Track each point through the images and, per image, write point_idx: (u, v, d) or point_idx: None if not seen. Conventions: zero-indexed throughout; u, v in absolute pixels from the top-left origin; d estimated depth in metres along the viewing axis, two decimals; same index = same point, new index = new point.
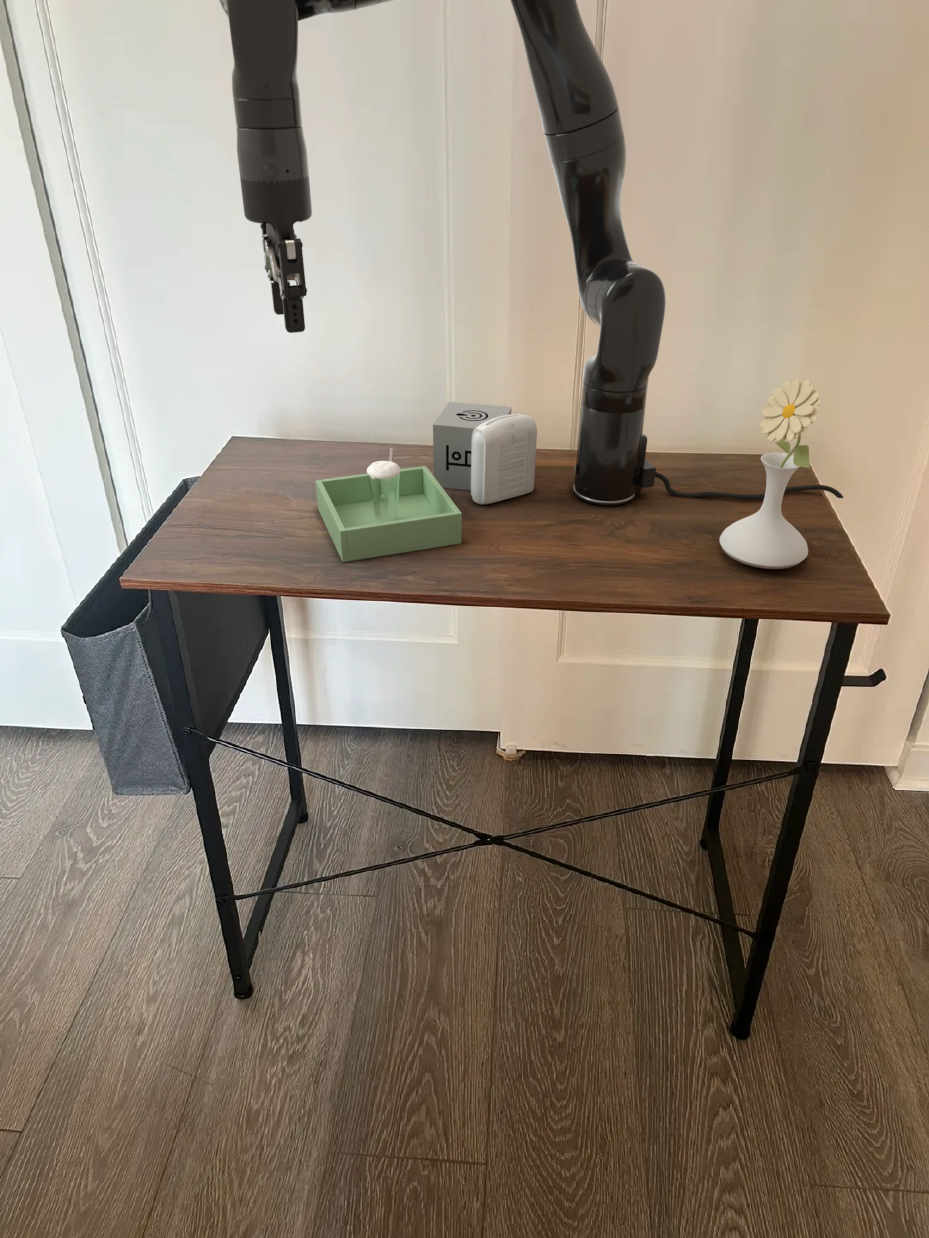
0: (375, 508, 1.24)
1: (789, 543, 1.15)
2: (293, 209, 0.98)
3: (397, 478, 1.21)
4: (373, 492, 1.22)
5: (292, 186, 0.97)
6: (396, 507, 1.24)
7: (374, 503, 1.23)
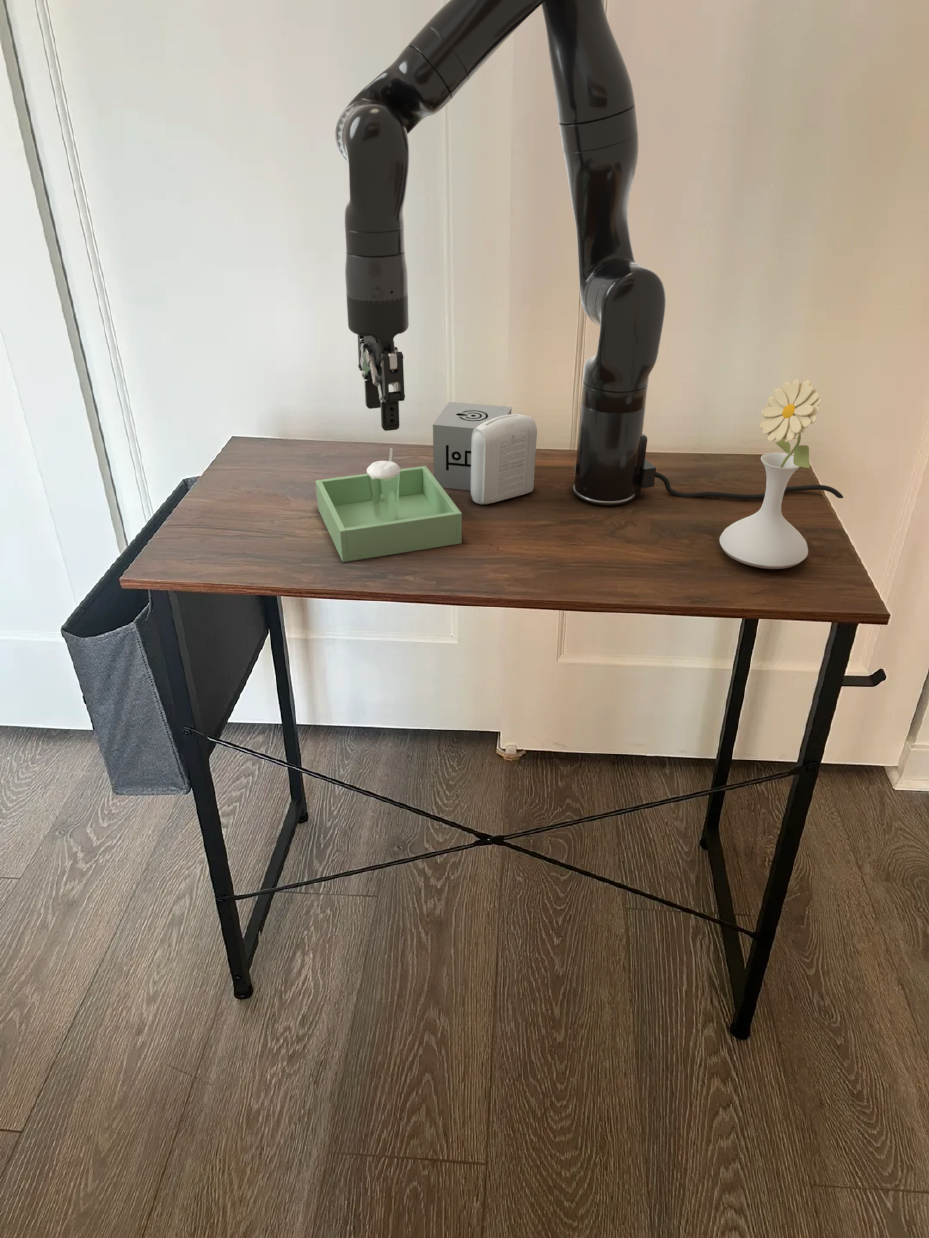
0: (375, 508, 1.24)
1: (789, 543, 1.15)
2: (394, 324, 1.09)
3: (397, 478, 1.21)
4: (373, 492, 1.22)
5: (395, 305, 1.07)
6: (396, 507, 1.24)
7: (374, 503, 1.23)
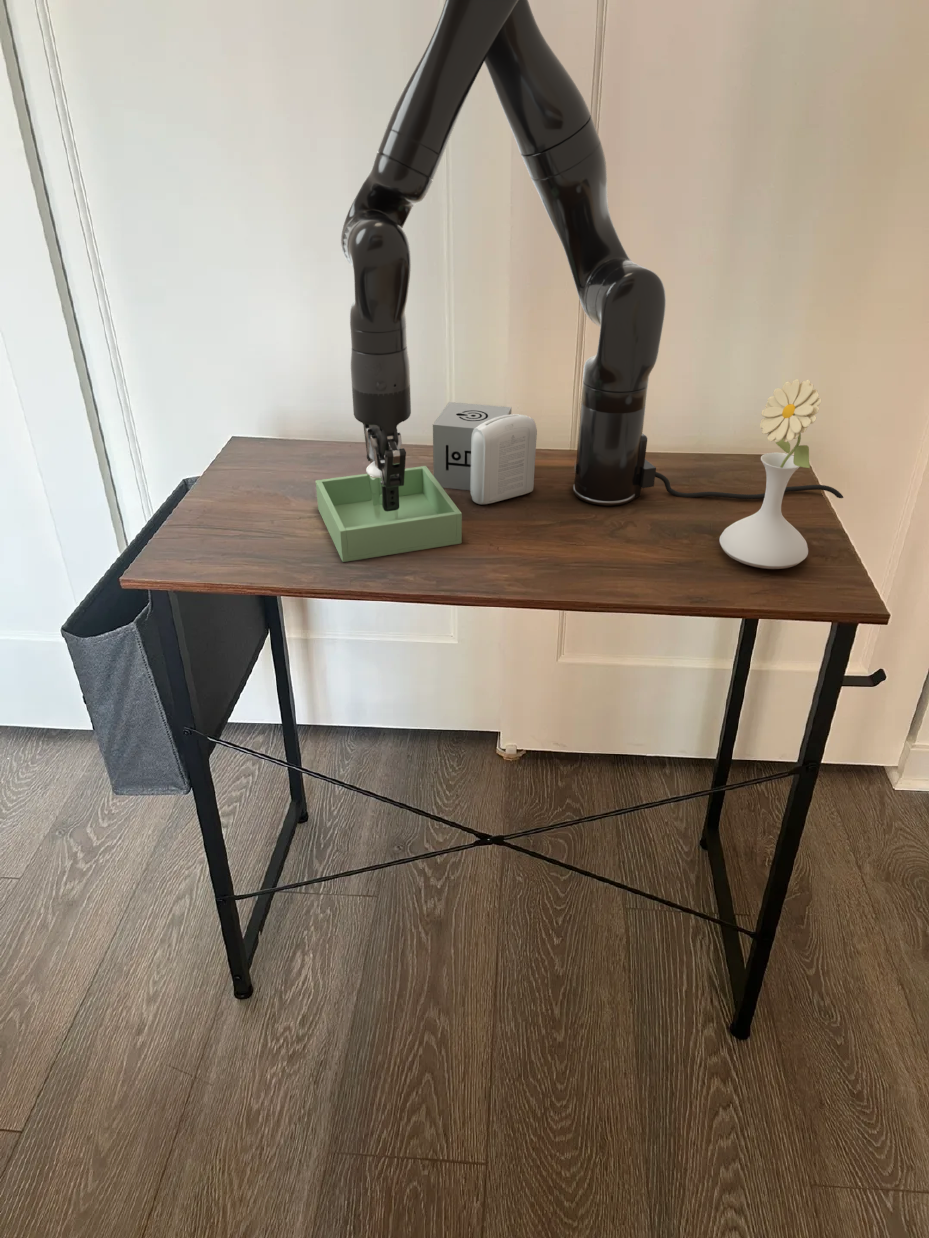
0: (375, 507, 1.24)
1: (789, 543, 1.15)
2: (397, 414, 1.15)
3: None
4: (373, 491, 1.22)
5: (398, 396, 1.13)
6: None
7: (374, 502, 1.23)
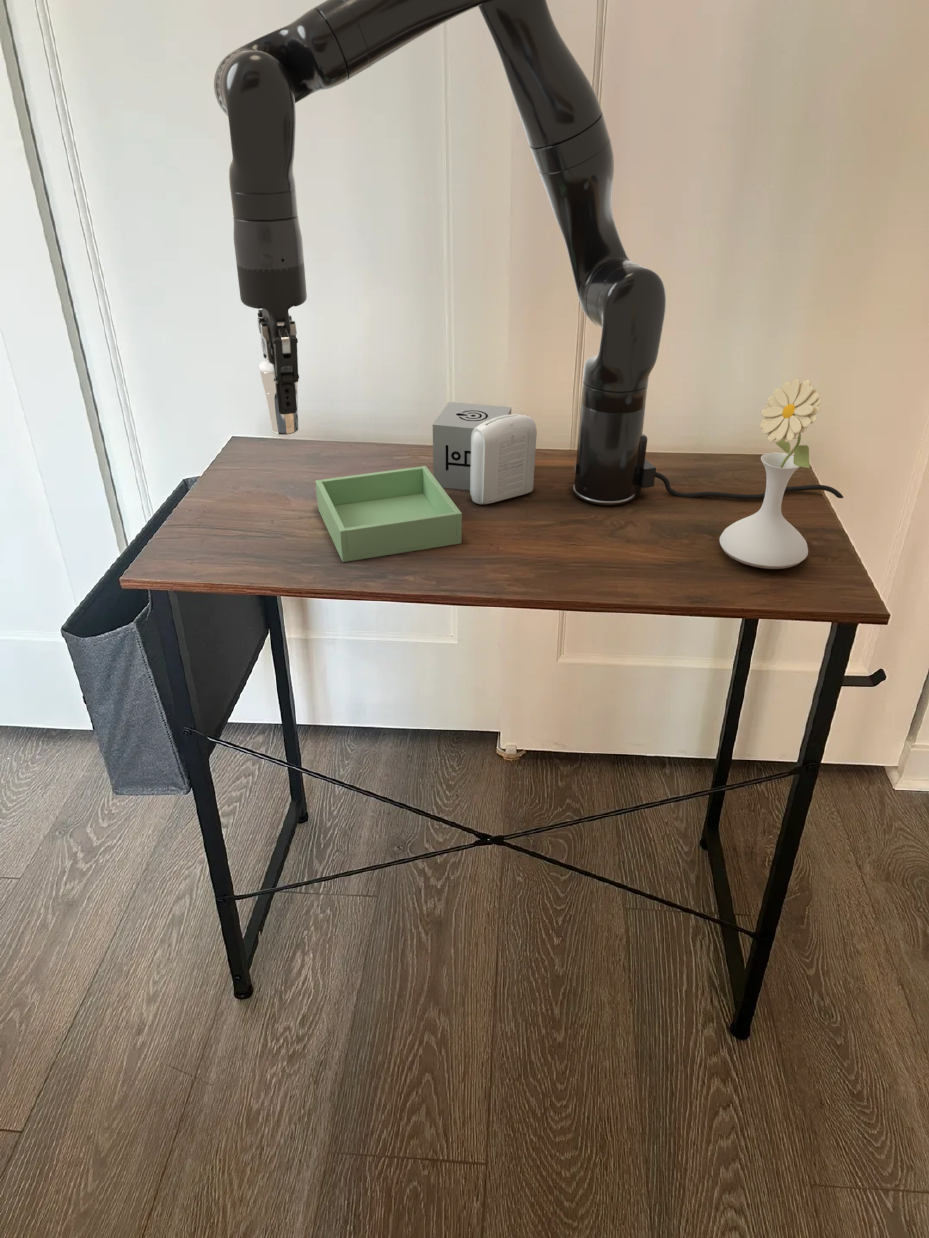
0: (270, 411, 1.09)
1: (789, 543, 1.15)
2: (288, 295, 1.00)
3: None
4: (267, 391, 1.08)
5: (287, 274, 0.99)
6: None
7: (269, 405, 1.09)
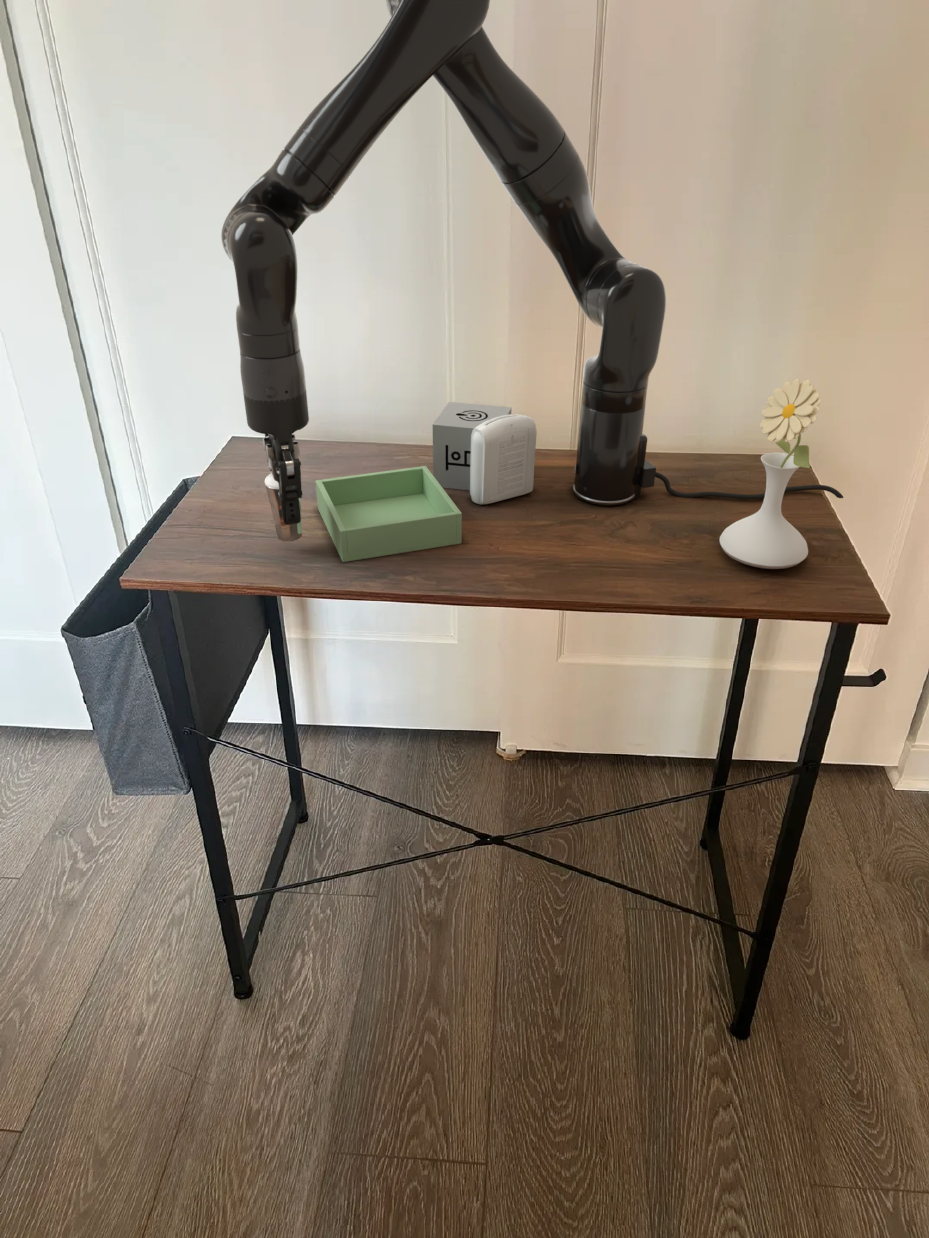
0: (275, 520, 1.17)
1: (789, 543, 1.15)
2: (291, 422, 1.08)
3: None
4: (272, 503, 1.15)
5: (291, 403, 1.06)
6: None
7: (274, 515, 1.16)
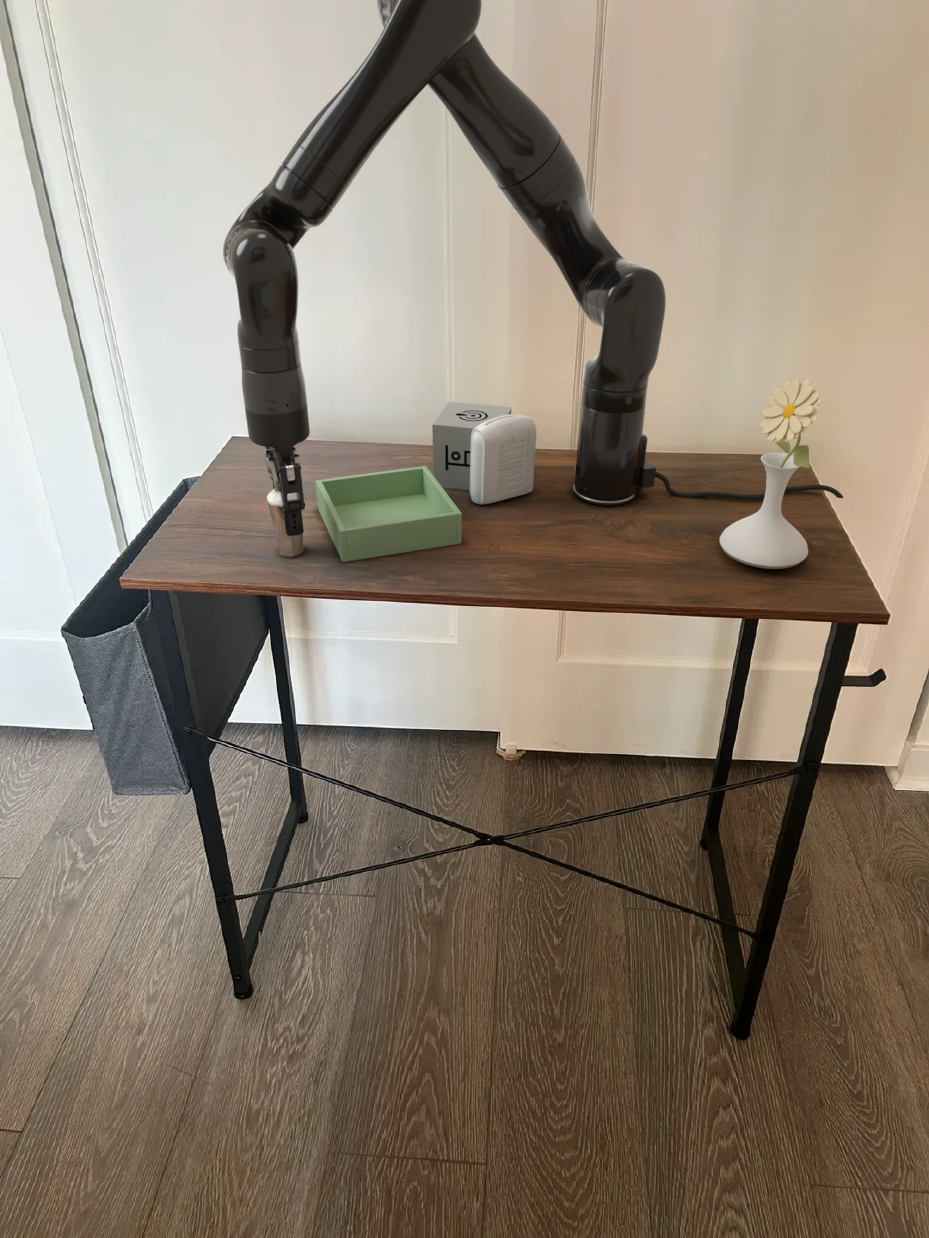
0: (277, 536, 1.18)
1: (789, 543, 1.15)
2: (292, 435, 1.09)
3: None
4: (274, 520, 1.16)
5: (292, 416, 1.07)
6: (300, 535, 1.18)
7: (276, 531, 1.17)
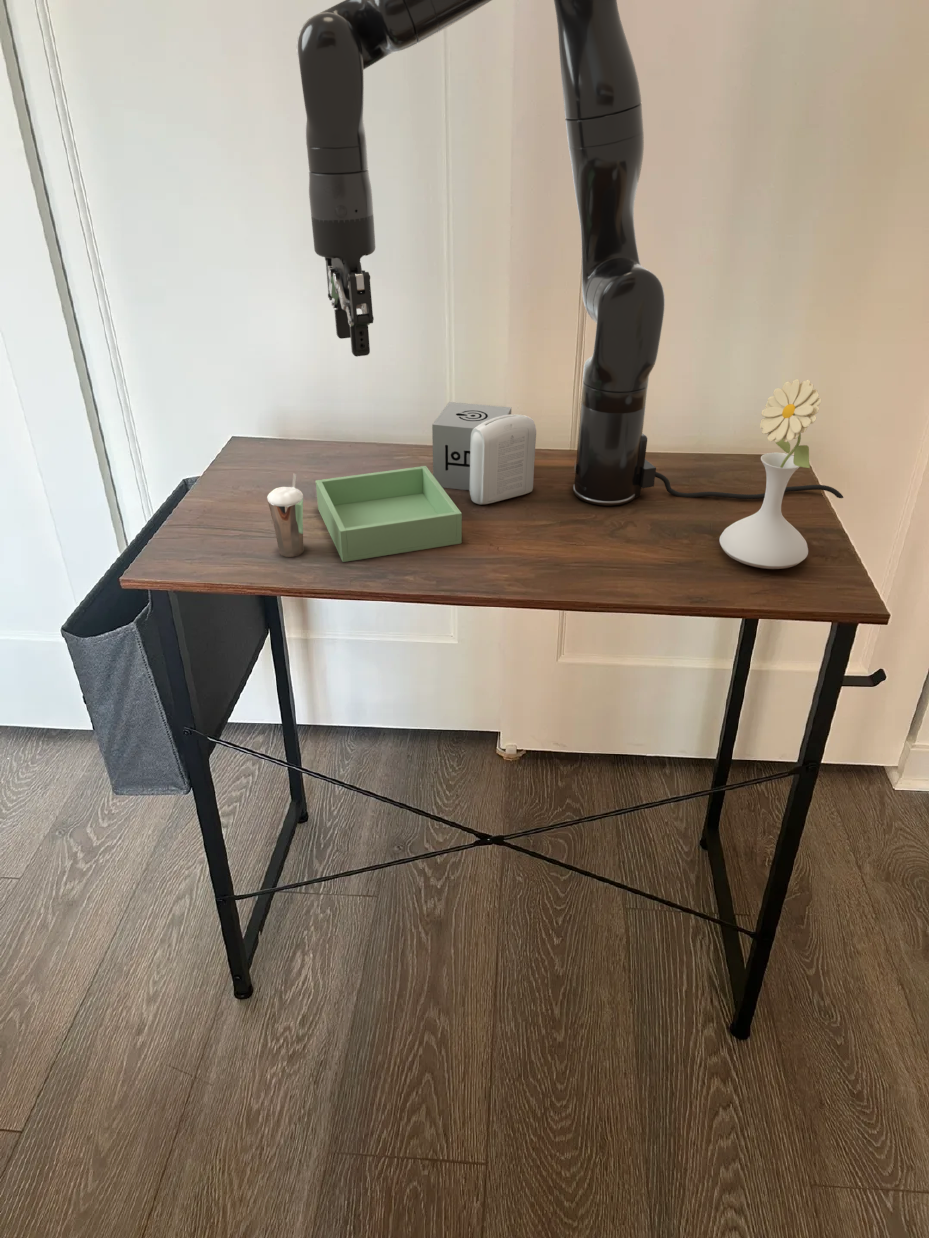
0: (278, 536, 1.18)
1: (789, 543, 1.15)
2: (360, 245, 1.08)
3: (299, 505, 1.16)
4: (274, 520, 1.16)
5: (360, 224, 1.06)
6: (300, 535, 1.18)
7: (276, 531, 1.17)
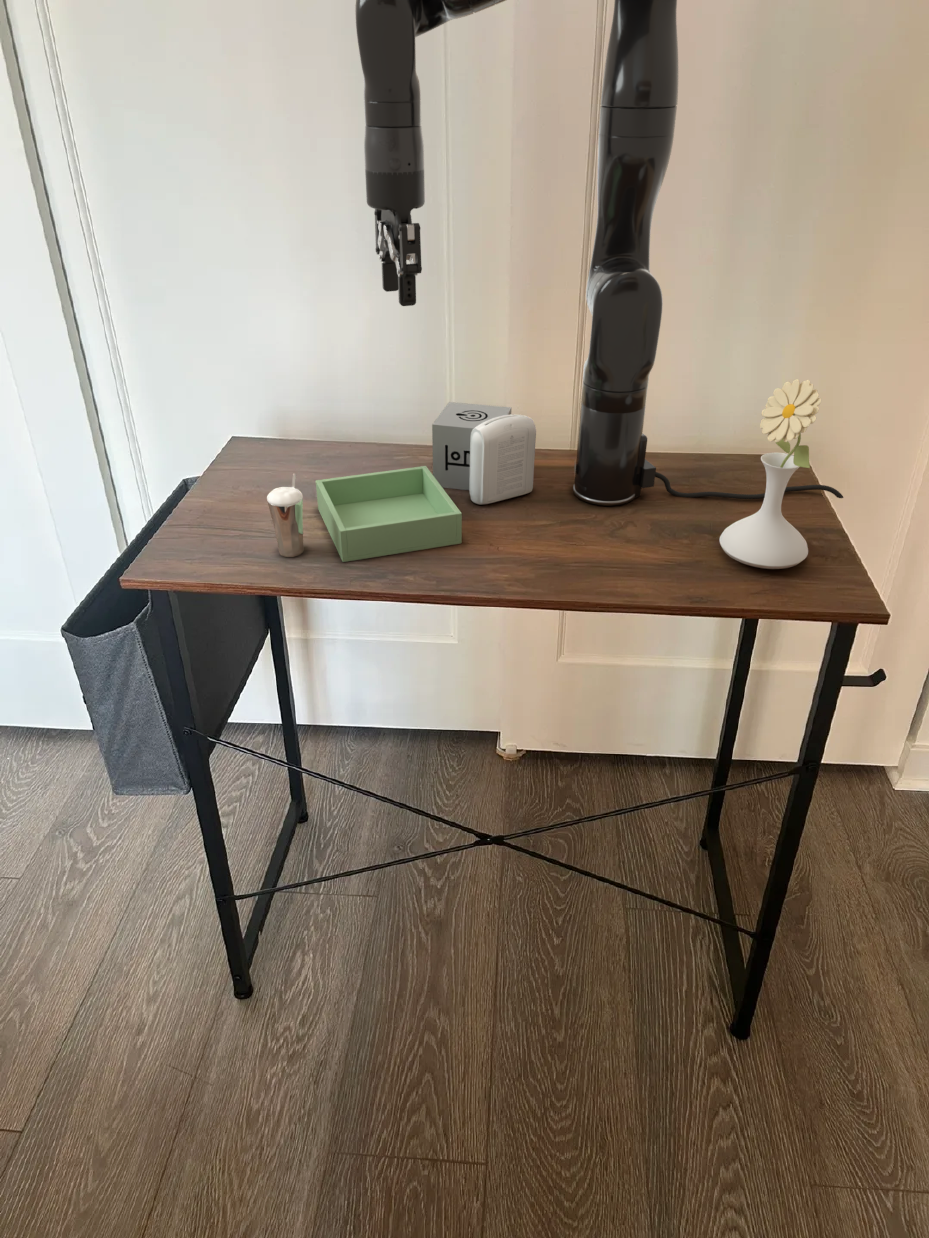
0: (277, 536, 1.18)
1: (789, 543, 1.15)
2: (411, 197, 1.13)
3: (299, 505, 1.16)
4: (274, 520, 1.16)
5: (412, 177, 1.12)
6: (300, 535, 1.18)
7: (276, 531, 1.17)
